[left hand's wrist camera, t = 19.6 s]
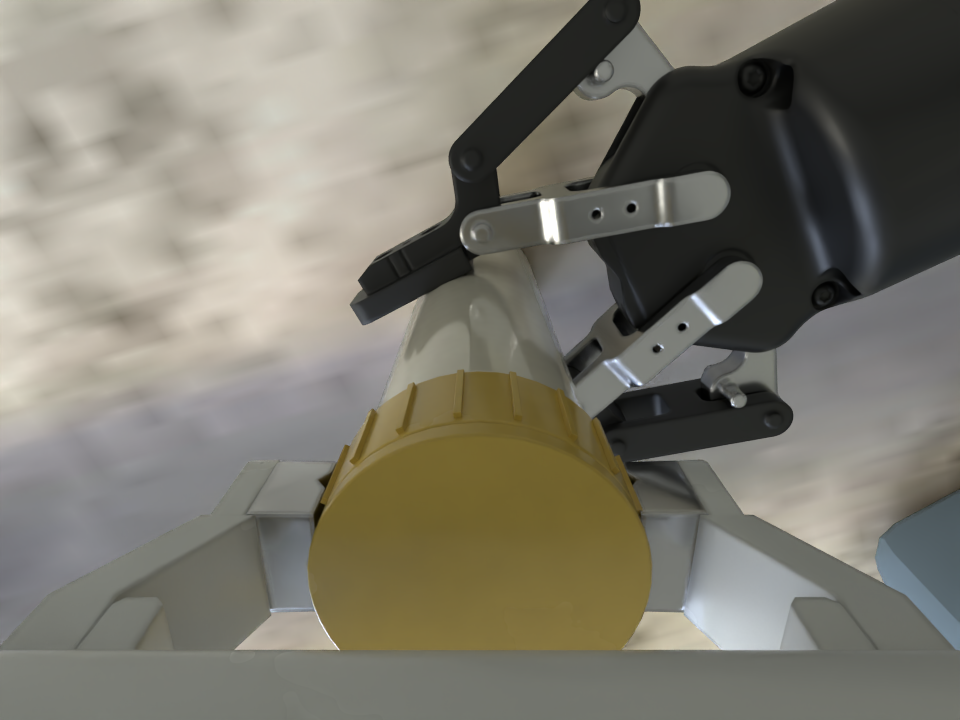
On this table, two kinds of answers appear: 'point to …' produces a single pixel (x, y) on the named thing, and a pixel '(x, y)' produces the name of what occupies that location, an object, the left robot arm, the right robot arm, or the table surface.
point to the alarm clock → (927, 563)
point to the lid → (479, 525)
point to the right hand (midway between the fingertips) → (405, 375)
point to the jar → (482, 329)
